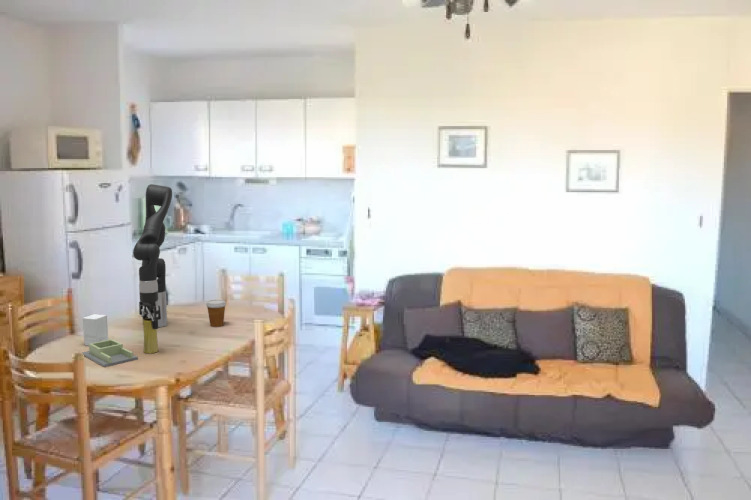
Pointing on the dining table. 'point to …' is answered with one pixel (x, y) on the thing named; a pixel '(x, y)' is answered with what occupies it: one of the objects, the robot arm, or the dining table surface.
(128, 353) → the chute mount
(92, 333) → the supplement box
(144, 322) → the vase
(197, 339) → the dining table surface
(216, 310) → the disposable coffee cup
